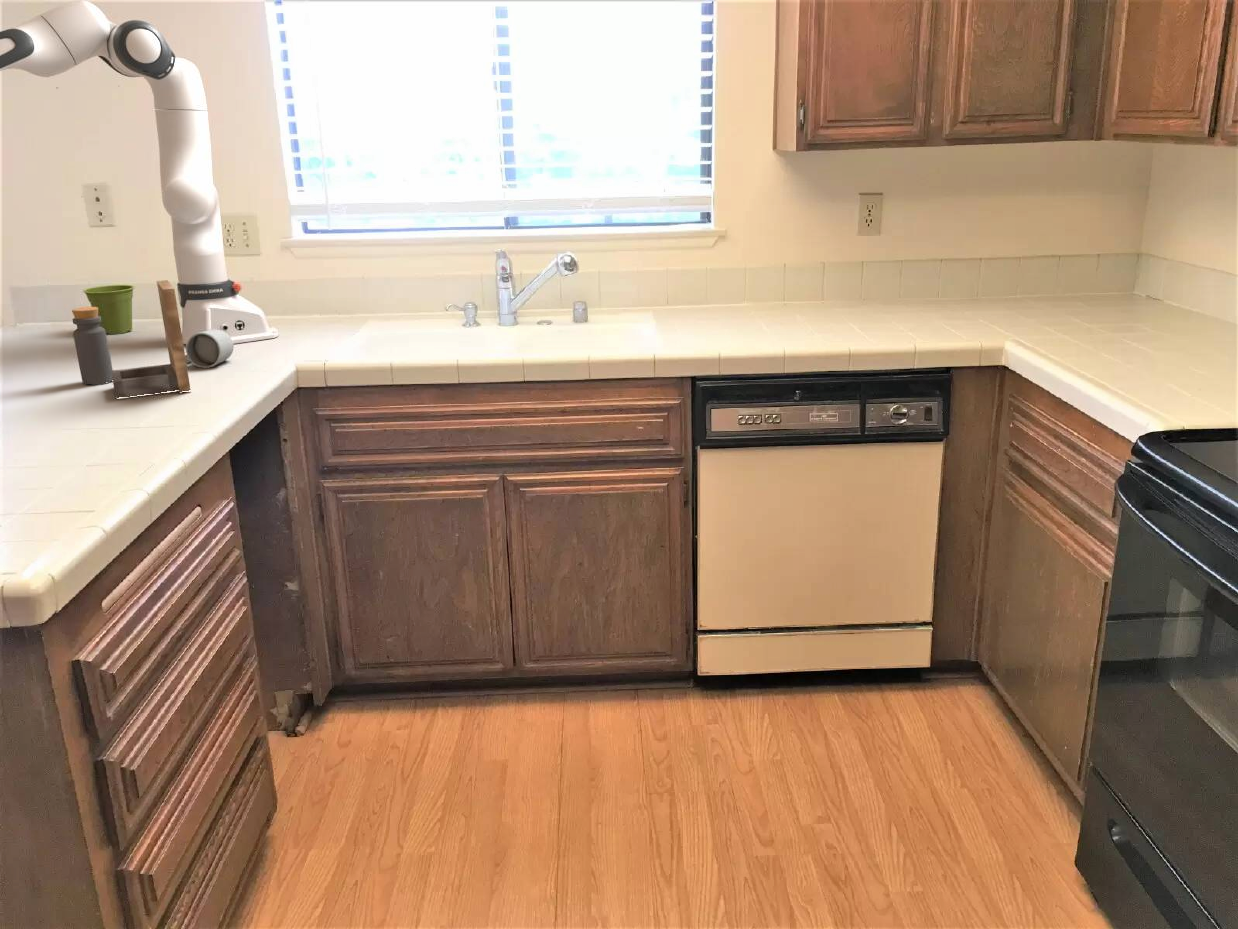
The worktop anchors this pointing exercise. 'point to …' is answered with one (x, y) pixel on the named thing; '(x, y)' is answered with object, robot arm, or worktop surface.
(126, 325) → the plant pot
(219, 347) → the ceramic mug
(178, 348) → the wooden stand
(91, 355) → the bottle
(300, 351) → the worktop surface
